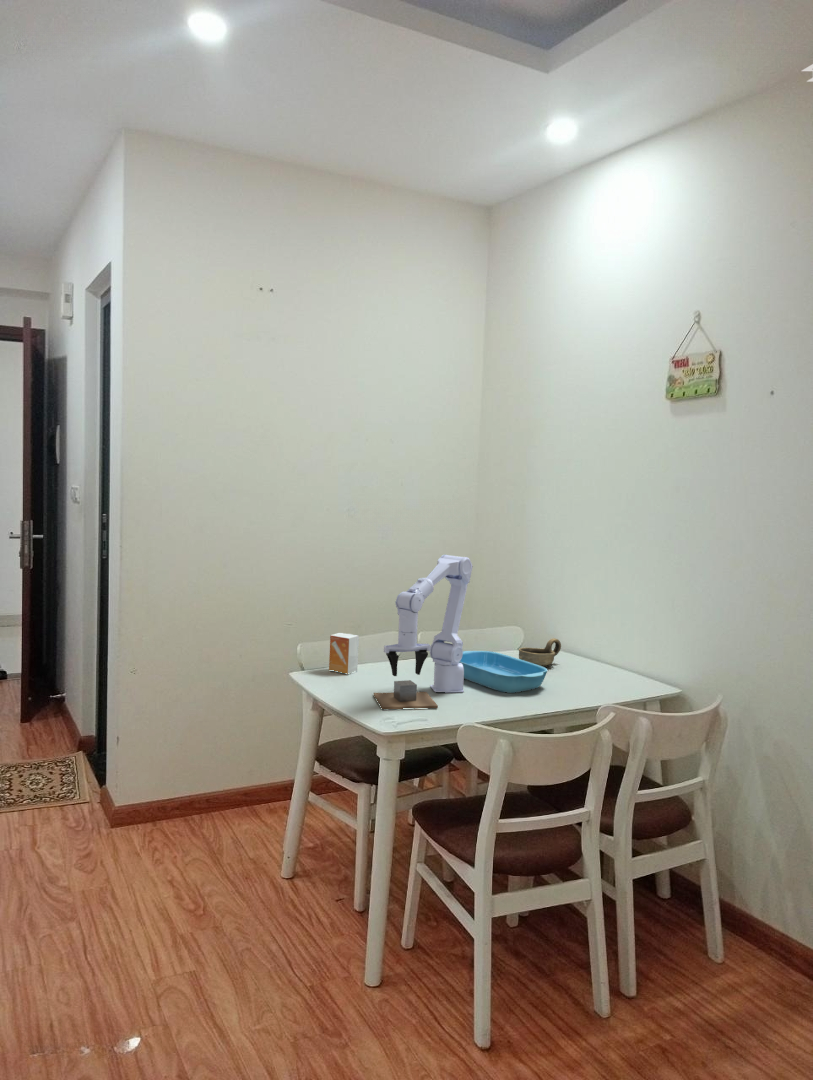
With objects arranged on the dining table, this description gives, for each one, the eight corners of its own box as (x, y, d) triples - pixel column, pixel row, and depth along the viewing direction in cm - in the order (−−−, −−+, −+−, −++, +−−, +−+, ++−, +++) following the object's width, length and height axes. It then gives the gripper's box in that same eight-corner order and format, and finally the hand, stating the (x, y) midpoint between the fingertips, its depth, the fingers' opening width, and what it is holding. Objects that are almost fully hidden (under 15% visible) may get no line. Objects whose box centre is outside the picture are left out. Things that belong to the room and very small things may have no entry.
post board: (426, 694, 258) (426, 681, 258) (437, 708, 243) (438, 694, 243) (373, 695, 254) (374, 681, 254) (382, 710, 240) (382, 695, 239)
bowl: (510, 662, 306) (511, 636, 306) (548, 659, 314) (550, 634, 313) (529, 671, 294) (531, 644, 293) (569, 668, 301) (571, 642, 300)
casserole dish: (559, 690, 271) (560, 669, 270) (511, 700, 257) (513, 678, 256) (484, 666, 300) (484, 647, 299) (437, 673, 286) (438, 654, 286)
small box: (328, 671, 282) (329, 635, 281) (338, 668, 288) (339, 632, 286) (347, 675, 278) (349, 638, 277) (357, 671, 284) (359, 635, 283)
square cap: (409, 695, 253) (410, 680, 252) (416, 700, 248) (416, 684, 247) (393, 697, 251) (394, 681, 250) (399, 701, 246) (400, 685, 245)
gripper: (424, 627, 253) (423, 670, 255) (381, 629, 248) (379, 672, 249) (433, 632, 247) (431, 675, 248) (388, 634, 241) (387, 678, 243)
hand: (406, 674), depth 248 cm, fingers open, 7 cm apart
